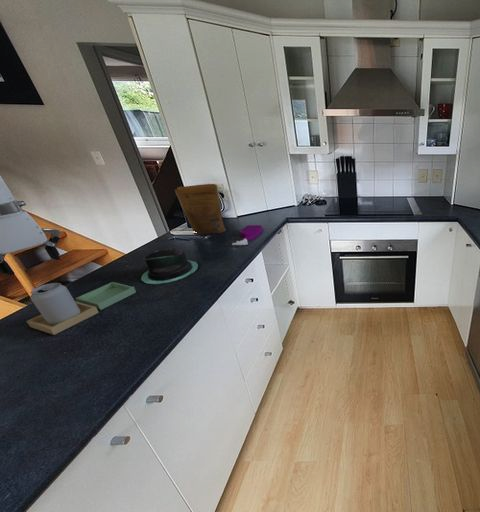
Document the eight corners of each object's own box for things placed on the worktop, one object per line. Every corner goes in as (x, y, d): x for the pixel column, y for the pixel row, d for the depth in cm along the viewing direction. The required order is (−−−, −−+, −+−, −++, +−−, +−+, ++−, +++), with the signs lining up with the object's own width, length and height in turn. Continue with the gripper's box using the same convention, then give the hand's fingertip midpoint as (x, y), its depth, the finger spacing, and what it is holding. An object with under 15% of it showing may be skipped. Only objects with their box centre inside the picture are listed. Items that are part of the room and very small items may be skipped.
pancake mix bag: (227, 233, 157) (215, 184, 145) (189, 237, 151) (173, 186, 138) (229, 229, 163) (217, 182, 150) (191, 233, 156) (176, 184, 144)
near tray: (30, 327, 85) (26, 321, 84) (76, 306, 95) (73, 300, 94) (54, 335, 82) (50, 328, 81) (99, 312, 92) (95, 306, 91)
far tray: (78, 303, 96) (75, 298, 95) (115, 287, 106) (112, 281, 105) (100, 310, 93) (97, 304, 92) (136, 292, 103) (133, 286, 102)
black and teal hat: (137, 288, 104) (136, 269, 117) (194, 293, 117) (187, 275, 131) (149, 252, 102) (147, 237, 116) (205, 261, 116) (197, 247, 129)
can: (41, 323, 86) (20, 292, 81) (71, 309, 92) (52, 279, 87) (59, 328, 84) (37, 296, 79) (87, 313, 91) (69, 282, 86)
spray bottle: (264, 229, 164) (251, 246, 142) (245, 229, 163) (229, 247, 141) (263, 224, 163) (250, 241, 141) (244, 225, 162) (228, 242, 140)
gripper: (33, 200, 81) (63, 252, 88) (-66, 218, 66) (-19, 278, 73) (50, 202, 79) (79, 255, 86) (-49, 221, 64) (-3, 283, 72)
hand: (34, 266), depth 80 cm, fingers open, 9 cm apart
